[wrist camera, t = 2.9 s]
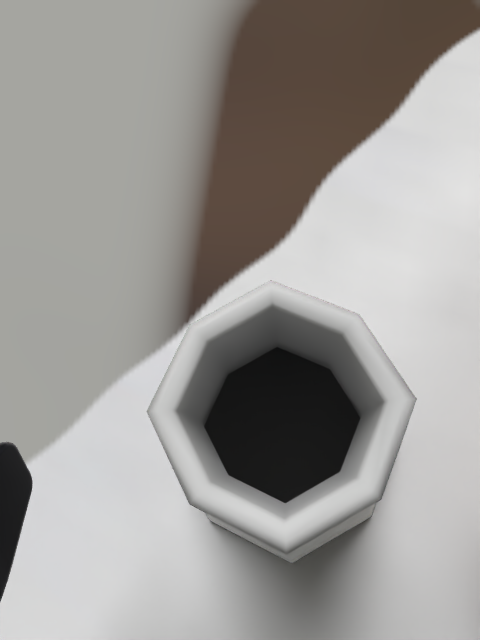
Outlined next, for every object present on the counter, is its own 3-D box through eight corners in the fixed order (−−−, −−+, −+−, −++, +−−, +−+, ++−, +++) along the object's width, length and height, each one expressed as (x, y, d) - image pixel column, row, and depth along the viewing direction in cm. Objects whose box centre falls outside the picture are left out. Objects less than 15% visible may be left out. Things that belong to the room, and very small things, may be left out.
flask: (439, 429, 15) (724, 385, 5) (294, 607, 14) (311, 971, 4) (275, 294, 17) (258, 78, 7) (137, 441, 16) (-102, 422, 6)
